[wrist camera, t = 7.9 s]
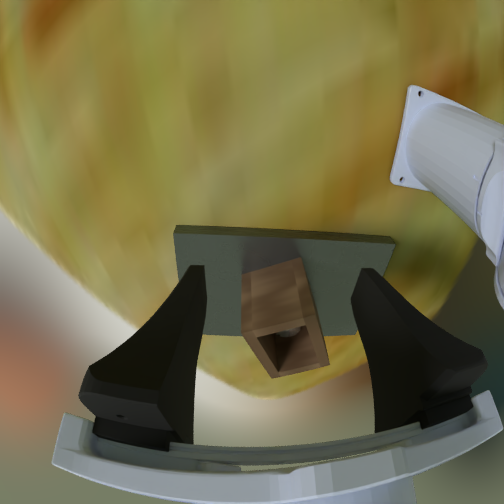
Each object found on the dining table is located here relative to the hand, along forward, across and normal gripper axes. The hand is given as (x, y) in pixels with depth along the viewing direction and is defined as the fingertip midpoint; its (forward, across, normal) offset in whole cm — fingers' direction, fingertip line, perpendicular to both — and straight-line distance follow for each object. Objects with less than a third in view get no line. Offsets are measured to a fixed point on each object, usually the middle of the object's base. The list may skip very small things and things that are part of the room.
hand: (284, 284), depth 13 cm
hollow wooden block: (+8, -2, +9) cm, 12 cm away
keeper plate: (+9, -2, +9) cm, 13 cm away
